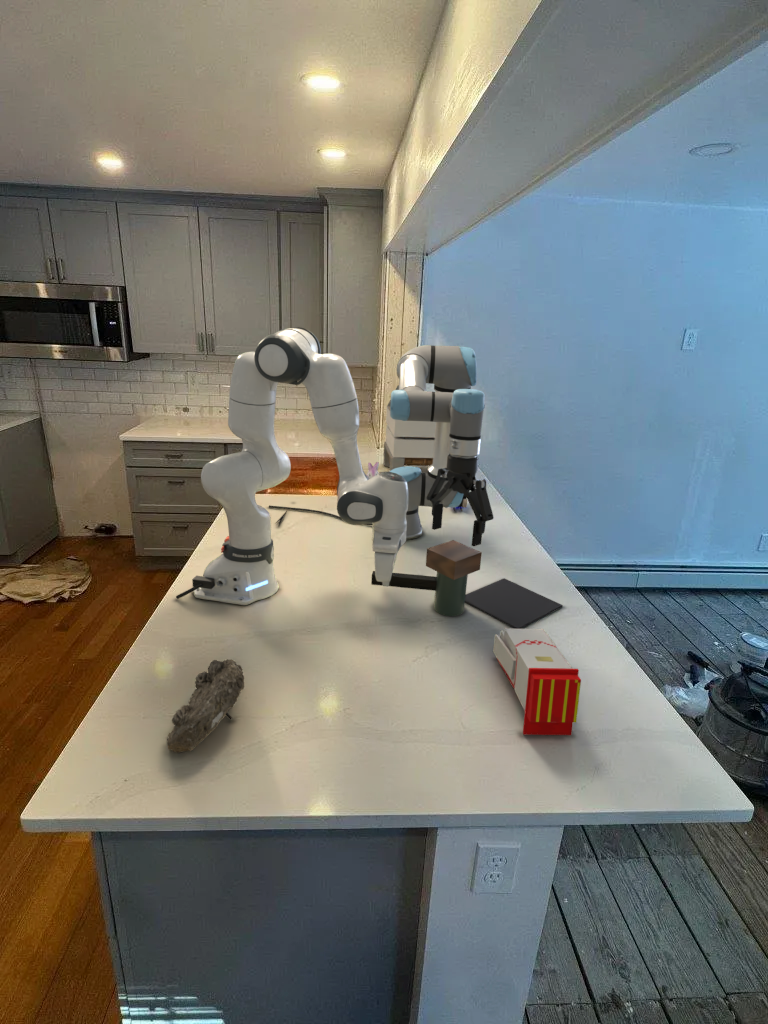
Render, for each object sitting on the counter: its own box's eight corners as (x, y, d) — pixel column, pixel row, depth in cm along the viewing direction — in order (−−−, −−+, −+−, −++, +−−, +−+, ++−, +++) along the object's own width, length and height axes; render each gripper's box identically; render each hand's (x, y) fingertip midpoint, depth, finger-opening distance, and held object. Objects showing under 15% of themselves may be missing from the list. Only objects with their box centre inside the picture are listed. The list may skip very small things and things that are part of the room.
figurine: (369, 502, 230) (370, 466, 225) (359, 494, 239) (360, 460, 234) (390, 499, 234) (391, 464, 229) (378, 492, 243) (380, 458, 238)
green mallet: (463, 602, 155) (468, 562, 151) (464, 617, 147) (468, 576, 143) (373, 594, 157) (374, 554, 153) (369, 608, 150) (370, 566, 146)
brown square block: (425, 566, 148) (426, 548, 146) (451, 556, 154) (453, 539, 152) (453, 580, 141) (455, 561, 139) (480, 569, 147) (481, 552, 145)
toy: (540, 612, 132) (590, 675, 102) (535, 665, 134) (582, 742, 105) (489, 611, 131) (523, 674, 102) (484, 665, 134) (517, 741, 105)
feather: (294, 505, 227) (296, 501, 226) (277, 528, 200) (280, 524, 199) (290, 503, 226) (292, 499, 226) (273, 526, 200) (276, 521, 199)
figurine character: (467, 516, 223) (461, 500, 237) (469, 499, 220) (463, 483, 233) (450, 516, 223) (446, 499, 236) (452, 498, 220) (447, 483, 233)
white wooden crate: (382, 463, 289) (386, 382, 275) (445, 464, 293) (451, 384, 279) (390, 482, 257) (394, 392, 243) (460, 483, 261) (468, 394, 247)
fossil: (192, 660, 117) (244, 628, 112) (224, 691, 120) (276, 661, 115) (142, 746, 98) (202, 712, 93) (182, 779, 101) (242, 748, 96)
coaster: (458, 599, 156) (458, 597, 156) (503, 580, 169) (504, 578, 169) (517, 630, 142) (518, 628, 142) (562, 607, 155) (562, 605, 155)
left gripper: (382, 519, 156) (380, 564, 161) (371, 548, 137) (369, 598, 142) (405, 521, 156) (402, 566, 160) (397, 550, 137) (394, 601, 141)
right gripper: (416, 446, 143) (411, 524, 150) (494, 468, 126) (484, 556, 133) (437, 443, 148) (431, 519, 155) (514, 464, 131) (504, 548, 138)
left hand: (386, 582), depth 151 cm, fingers closed on green mallet, 2 cm apart
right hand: (455, 536), depth 144 cm, fingers open, 13 cm apart
